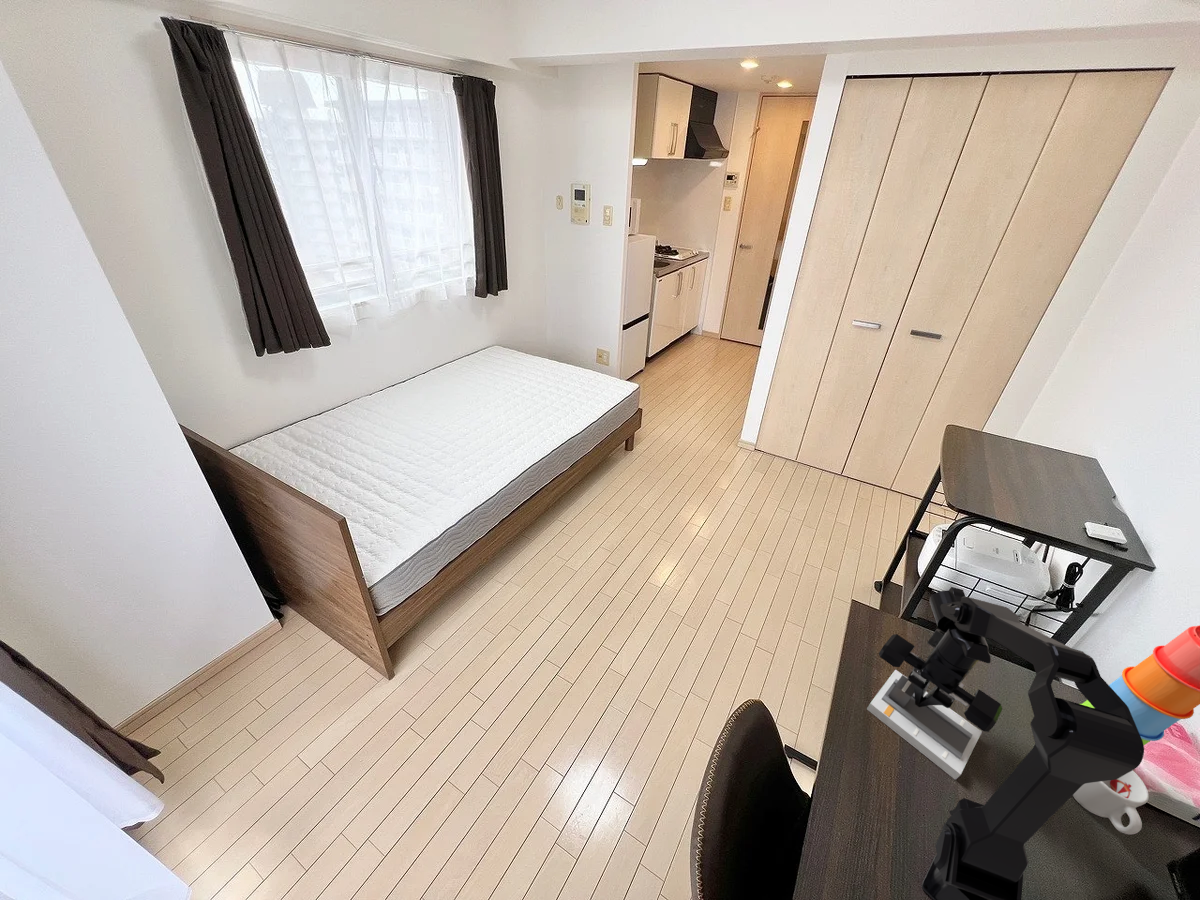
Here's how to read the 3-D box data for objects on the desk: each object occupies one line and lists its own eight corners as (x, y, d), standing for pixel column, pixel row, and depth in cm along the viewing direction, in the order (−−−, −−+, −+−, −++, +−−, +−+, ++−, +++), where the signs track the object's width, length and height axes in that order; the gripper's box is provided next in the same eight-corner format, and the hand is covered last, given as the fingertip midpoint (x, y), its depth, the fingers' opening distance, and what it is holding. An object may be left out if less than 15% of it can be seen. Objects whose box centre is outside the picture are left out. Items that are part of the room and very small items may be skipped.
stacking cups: (1108, 747, 92) (1251, 631, 74) (1114, 793, 85) (1273, 677, 67) (1042, 712, 97) (1160, 595, 79) (1042, 752, 90) (1172, 635, 72)
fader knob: (903, 707, 93) (911, 696, 91) (887, 695, 95) (895, 684, 93) (910, 696, 95) (918, 685, 93) (895, 685, 97) (902, 674, 95)
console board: (955, 780, 85) (962, 773, 84) (866, 708, 95) (871, 701, 94) (976, 737, 92) (983, 730, 90) (891, 675, 102) (896, 667, 100)
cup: (1142, 851, 78) (1177, 830, 74) (1088, 837, 79) (1119, 816, 75) (1097, 779, 87) (1127, 757, 83) (1049, 768, 88) (1075, 745, 84)
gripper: (1030, 668, 83) (985, 717, 91) (917, 599, 95) (886, 648, 103) (1013, 706, 77) (966, 755, 85) (894, 627, 88) (863, 677, 97)
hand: (918, 704), depth 93 cm, fingers closed
